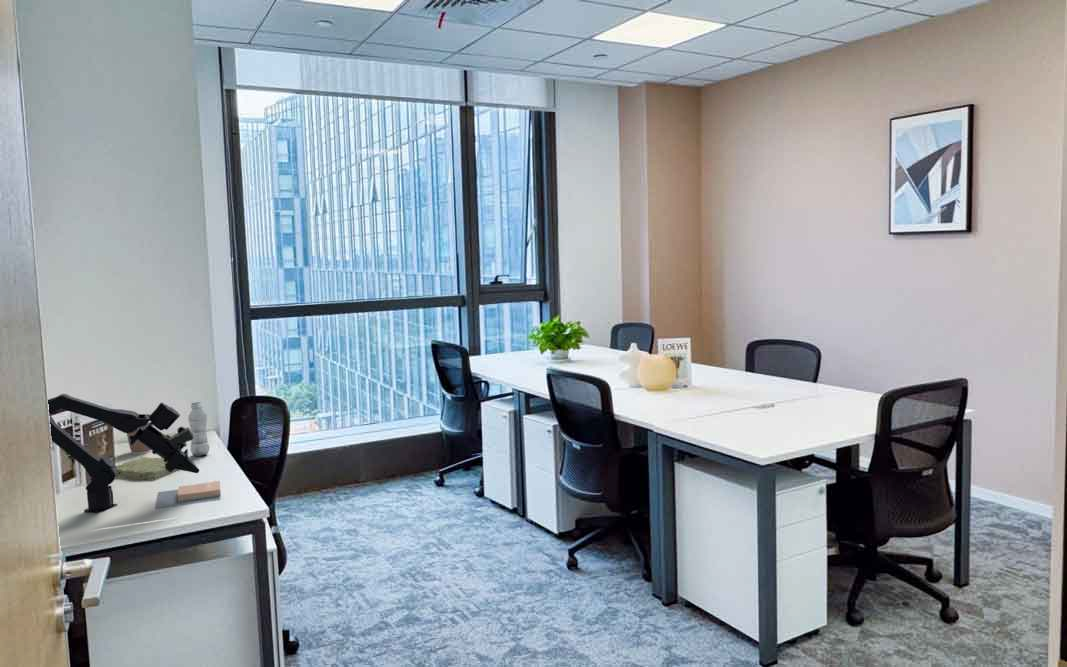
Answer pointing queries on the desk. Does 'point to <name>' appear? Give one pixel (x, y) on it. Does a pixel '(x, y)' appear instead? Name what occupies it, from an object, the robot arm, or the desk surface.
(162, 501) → the mat
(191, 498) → the tile
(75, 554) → the desk surface
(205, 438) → the plastic bottle
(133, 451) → the coffee cup
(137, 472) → the decorative tile
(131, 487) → the desk surface
